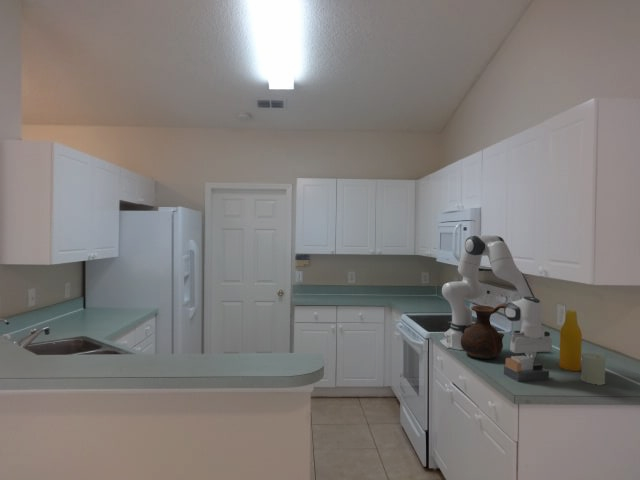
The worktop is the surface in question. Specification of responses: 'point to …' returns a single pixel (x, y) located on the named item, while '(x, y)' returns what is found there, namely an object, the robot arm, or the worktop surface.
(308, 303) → the worktop surface
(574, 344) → the beer bottle
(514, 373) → the base
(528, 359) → the notched grey block
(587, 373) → the can
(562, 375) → the worktop surface
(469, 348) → the jug
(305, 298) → the worktop surface
